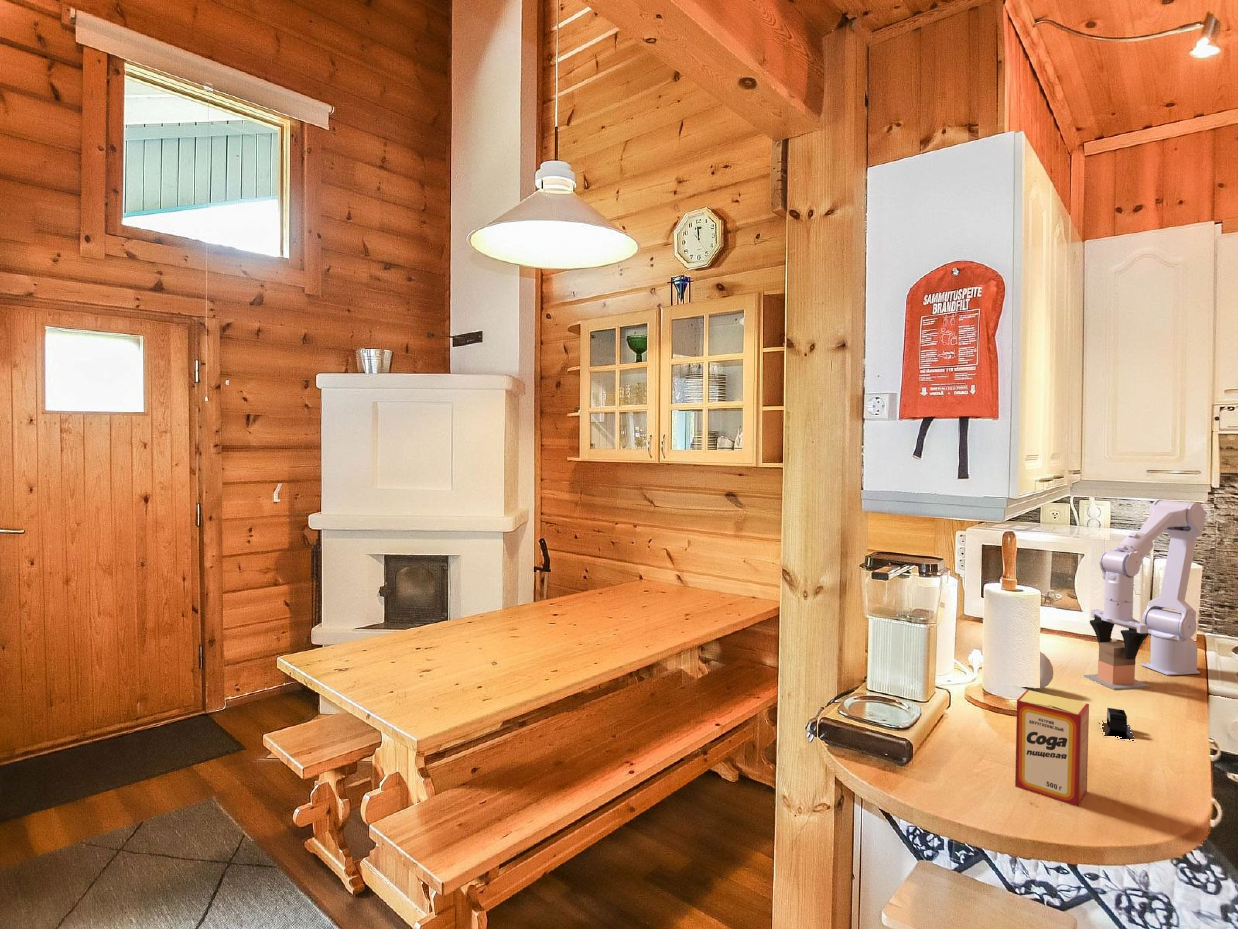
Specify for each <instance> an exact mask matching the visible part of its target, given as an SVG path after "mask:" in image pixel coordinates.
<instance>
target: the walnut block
mask: <svg viewBox="0 0 1238 929" xmlns="http://www.w3.org/2000/svg"><path fill="white" fill-rule="evenodd" d="M1136 658H1137V657H1136ZM1136 658H1135V659H1126V657H1125V645H1124V641H1121V640H1120V641H1110V642H1101V643H1098V660H1099V661H1102V662H1104V663H1107V664H1109V665H1112V666H1125V665H1135V666H1136Z"/></svg>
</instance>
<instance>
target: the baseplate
mask: <svg viewBox="0 0 1238 929" xmlns="http://www.w3.org/2000/svg"><path fill="white" fill-rule="evenodd" d="M1083 678H1086V679H1088V678H1089V679H1088V680H1090V679H1091V681H1093V682H1095V681H1096V682H1095V683H1097V682H1098V684H1099V683H1100V685H1102V684H1103V685H1102V686H1104V685H1105V686H1104V687H1107V688H1109V689H1111V690H1114V691H1116V690H1133V689H1147V688H1148V689H1149V688H1151V685H1150V684H1146V683H1145V682H1142V681H1140V680H1137V679H1135V682H1134V683H1125V684H1111V683H1109V682H1106V681H1104V680H1102V679H1099V678H1098V673H1097V674H1084V675H1083Z"/></svg>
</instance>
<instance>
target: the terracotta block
mask: <svg viewBox="0 0 1238 929" xmlns="http://www.w3.org/2000/svg"><path fill="white" fill-rule="evenodd" d="M1097 662H1098V663H1097V664H1098V665H1097V674H1098V678H1099V679H1102V680H1104V681H1106V682H1109V683H1111V684H1125V683H1134V682H1135V680H1136V678H1135V676H1136V675H1135V674H1136V664H1135V665H1125V666H1112V665H1109V664H1107V663H1104V662H1102V661H1099V659H1098V660H1097Z"/></svg>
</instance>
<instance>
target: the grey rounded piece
mask: <svg viewBox="0 0 1238 929" xmlns="http://www.w3.org/2000/svg"><path fill="white" fill-rule="evenodd" d="M1054 674H1055V673H1054V666H1053V665H1052V662H1051V661H1050V659H1049V658H1048V657H1047V655H1046V654H1045V653H1044V652H1042V651H1040V689H1044V688H1046V687H1047V686H1049V685H1050V683H1051V682H1052V680H1053V677H1054Z"/></svg>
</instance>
